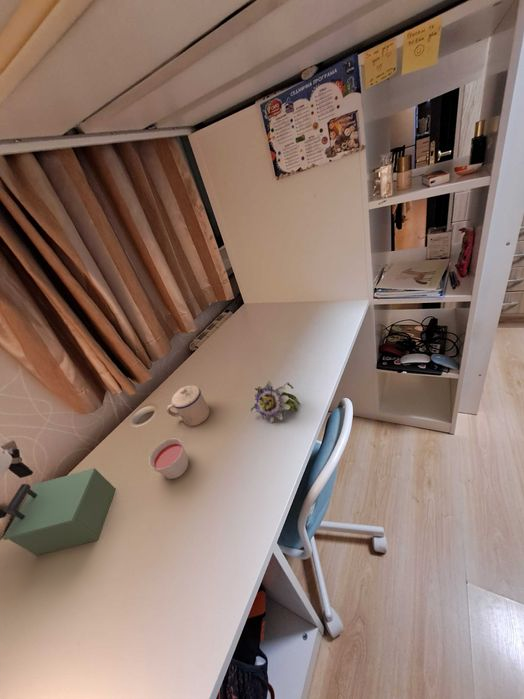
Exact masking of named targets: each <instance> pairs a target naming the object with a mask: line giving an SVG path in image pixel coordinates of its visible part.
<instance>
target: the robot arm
mask: <svg viewBox="0 0 524 699" xmlns="http://www.w3.org/2000/svg"><path fill="white" fill-rule="evenodd" d="M6 450H7V451H6ZM20 452H21V451H20V449H19V448H18V446H17V444H16V441H15V440H10V441H7V442H5V443H2V444H1V445H0V480H1V479H2V477H3V476H4V474H5V473H6V472H7V470H8V471H10V472H11V473H13V474H14V475H15V476H16V477H18V478H19V479H22V478H27V477H29V476H32V475H33V473H34V471H33V470H32V469H30V467H29V466H28V465H26V464H25V463H24V462H23V458H22V457H21V454H20ZM7 515H8V514H7V513H6V512H5V510H3V509H2V508H0V519H4V518H6V516H7Z"/></svg>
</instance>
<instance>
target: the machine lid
mask: <svg viewBox="0 0 524 699" xmlns="http://www.w3.org/2000/svg"><path fill="white" fill-rule="evenodd" d="M96 470H97V468H95V467H93V468H90V469H85V470H83V471H82V470H81V471H78V472H74V473H71V474H68V475H63V476H60V477H56V478H53V479H49V480H46V481H42V482H38V483H35V484H34V485H33V487H32V486H31V485H30V484H28V483H23V484H21V485H20V486H19V488H18V489H17V491H16V493H15V494H14V496H13V497H12V499H10V502H9V503H8V505H7V506H6V508H5V509H4V511H5V512H6V513H7V515H13V516H14V518H13V520H12V521H11V523H10V525H9V526H8V528H7V530H6V531H5V533H4V535H3V536H2V538H1V539H2V540H4V541H7V540H9V539H11V538H14V537H18V536H22V535H26V534H30V533H34V532H37V531H41V530H45V529H49V528H53V527H57V526H60V525H64V524H68V523H72V522H74V520H75V518H76V516H77V514H78V511H79V509H80V507H81V504H82V502H83V500H84V497H85V495H86V493H87V490H88V488H89V486H90V483H91V481H92V479H93V476H94V474H95V472H96ZM26 496H27V497H26ZM23 501H24V502H23ZM21 504H22V505H21ZM20 506H21V507H20ZM18 509H19V510H18Z"/></svg>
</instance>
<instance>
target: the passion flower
mask: <svg viewBox="0 0 524 699" xmlns="http://www.w3.org/2000/svg"><path fill="white" fill-rule="evenodd" d="M285 386H289V387H290V388H291V389H292V390H293V389H294V386H293V385H292V384H290V383H289V382H285V384H284V385H282V386H279V387H277V388H276V389H275V388H274V386H273V384H272V382H271V381H270V380H268V381H267V382H266V385H265V386H264V387H262V386H257V387H255V388H254V390H255V391H257V393H255V394H254V397H255V399H254V400H255V403H254V406H252V408H251V409H250V412H251V413H254V414H255V413H258V414H259V415H261V417H262V419H268V420H269V422H270V423H271V424H272V423H273V422H274V421H275V418H277V419H278V420H280V421H282V420H283V419H284V414H283V411H288V410H290V409H291V410H292V411H293V412H297V411H299V407H298V405H300V404H301V403H300V402H299V400H298V398H297V397H296V395H294V394H291V393H288V392H287V391H285V390H286V387H285ZM297 404H298V405H297Z"/></svg>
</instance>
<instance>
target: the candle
mask: <svg viewBox="0 0 524 699" xmlns="http://www.w3.org/2000/svg"><path fill="white" fill-rule="evenodd" d="M148 463H149V466H150V467H151V468H152V470H155V471H156V472H158V473H159V474H160V475H162V476H163V477H165V478H167V479H169V480H174V479H177V478H179V477H181V476H183V474H184V473H185V472H186V471H187V469H188V467H189V457H188V455H187V453H186V450H185V446H184V444H183V442H182V441H181V440H180V439H178V438H174V437H173V438H167V439H165V440H163V441H162V442H160V443H158V444H157V445H156V446H155V447H154V448H153V450H152V451H151V453H150V455H149V459H148Z"/></svg>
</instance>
